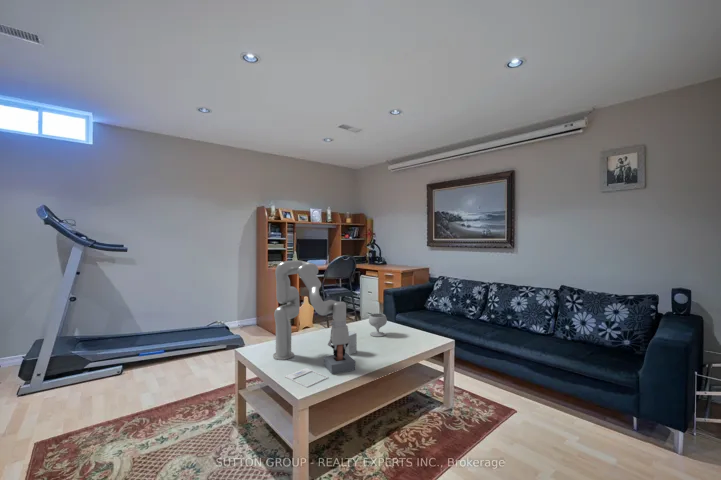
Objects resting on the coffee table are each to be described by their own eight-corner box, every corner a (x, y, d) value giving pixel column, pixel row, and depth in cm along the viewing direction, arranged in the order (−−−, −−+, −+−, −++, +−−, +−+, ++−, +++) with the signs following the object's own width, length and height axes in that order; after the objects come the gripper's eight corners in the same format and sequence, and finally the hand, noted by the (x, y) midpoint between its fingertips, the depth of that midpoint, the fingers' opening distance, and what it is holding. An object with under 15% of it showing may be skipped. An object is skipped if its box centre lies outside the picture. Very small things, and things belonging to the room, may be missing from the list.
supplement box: (348, 349, 209) (348, 330, 209) (356, 352, 205) (356, 332, 205) (340, 352, 204) (340, 333, 204) (349, 355, 199) (349, 335, 199)
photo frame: (306, 367, 178) (328, 376, 167) (306, 369, 178) (328, 378, 167) (284, 375, 167) (306, 386, 155) (284, 378, 167) (306, 388, 155)
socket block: (323, 364, 184) (323, 356, 184) (346, 361, 189) (346, 352, 189) (331, 374, 171) (331, 365, 171) (355, 370, 177) (355, 361, 177)
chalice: (367, 332, 249) (367, 313, 249) (384, 331, 251) (384, 312, 251) (370, 337, 235) (370, 317, 235) (388, 336, 238) (389, 317, 238)
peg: (334, 364, 181) (335, 339, 181) (341, 362, 183) (341, 338, 183) (337, 366, 178) (337, 341, 178) (343, 365, 179) (344, 340, 179)
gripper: (327, 326, 173) (327, 360, 173) (355, 323, 180) (355, 355, 180) (323, 323, 180) (323, 355, 180) (350, 320, 187) (350, 351, 187)
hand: (339, 355), depth 180 cm, fingers closed on peg, 4 cm apart
